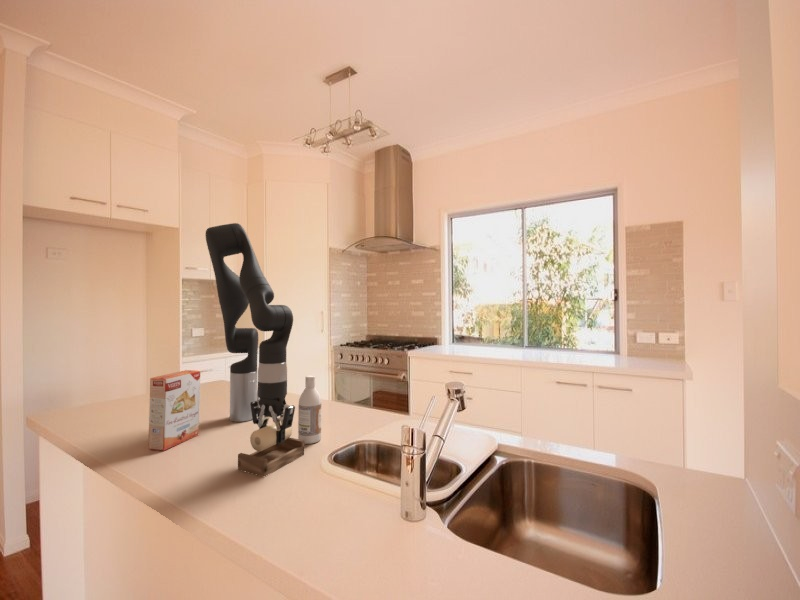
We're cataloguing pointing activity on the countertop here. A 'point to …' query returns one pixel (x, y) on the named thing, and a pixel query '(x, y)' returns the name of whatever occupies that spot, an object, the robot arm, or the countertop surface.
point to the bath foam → (309, 413)
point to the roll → (266, 437)
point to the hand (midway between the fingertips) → (271, 441)
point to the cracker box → (173, 409)
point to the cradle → (271, 457)
